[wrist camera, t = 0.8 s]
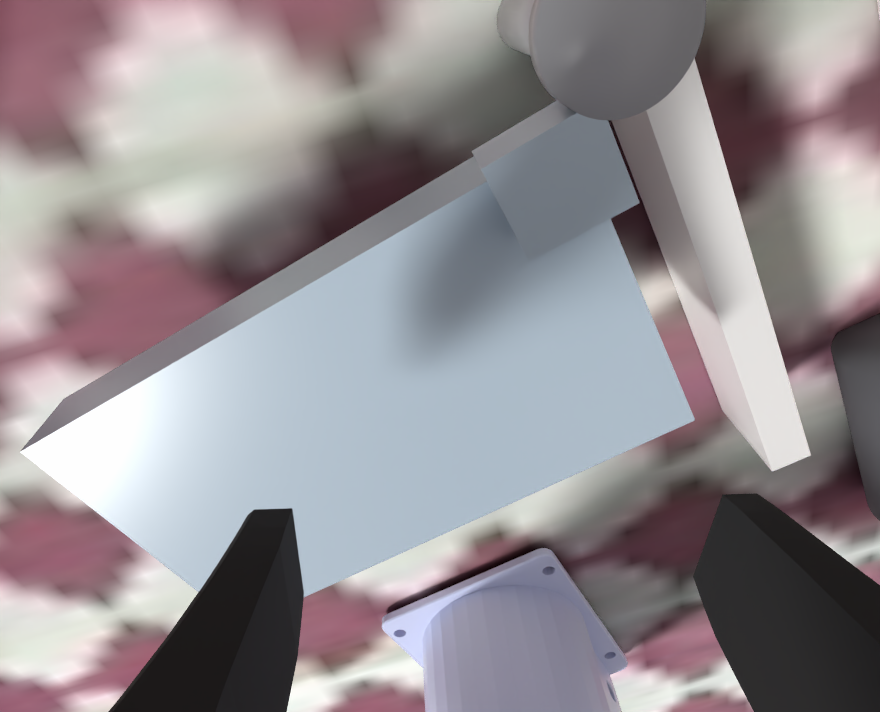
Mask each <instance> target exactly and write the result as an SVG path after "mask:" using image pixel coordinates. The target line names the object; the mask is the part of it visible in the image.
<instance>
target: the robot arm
mask: <svg viewBox="0 0 880 712" xmlns="http://www.w3.org/2000/svg"><path fill="white" fill-rule="evenodd" d="M548 566H549V567H548ZM693 577H694V580H695V583H696V585H697V588H698V591H699V594H700V597H701V600H702V602H703V605H704V608H705V611H706V613H707V616H708V618H709V621H710V623H711V626H712V629H713V631H714V634H715V636H716V638H717V640H718V642H719V644H720V646H721V648H722V650H723V652H724V654H725V656H726V658H727V660H728V662H729V664H730V666H731V668H732V670H733V672H734V674H735V676H736V678H737V680H738V682H739V684H740V686H741V688H742V690H743V691H744V693H745V695H746V697H747V699H748V701H749V703H750V705H751V707H752V709H753V711H754V712H880V585H879V584H877V583H876V582H875V581H873V580H872V579H871V578H869V577H868V576H866V575H865V574H864V573H862V572H861V571H860V570H859V569H857V568H856V567H855V566H853V565H852V564H851V563H849V562H848V561H847V560H845V559H844V558H843V557H841V556H840V555H839V554H837V553H836V552H835V551H834V550H832V549H831V548H830V547H828V546H827V545H826V544H824V543H823V542H822V541H820V540H819V539H818V538H816V537H815V536H814V535H813V534H811V533H810V532H809V531H807V530H806V529H805V528H803V527H802V526H801V525H799V524H798V523H797V522H795V521H794V520H793V519H791V518H790V517H789V516H787V515H786V514H785V513H783V512H782V511H781V510H779V509H778V508H777V507H775V506H774V505H773V504H771V503H770V502H768V501H767V500H766V499H764V498H763V497H761V496H760V495H758V494H731V495H722V498H721V501H720V504H719V506H718V509H717V512H716V515H715V518H714V520H713V523H712V526H711V529H710V531H709V534H708V537H707V540H706V543H705V545H704V548H703V551H702V554H701V557H700V559H699V562H698V565H697V568H696V570H695V573H694V576H693ZM303 597H304V590H303V583H302V575H301V568H300V561H299V553H298V546H297V539H296V532H295V524H294V517H293V510H292V508H287V509H255V510H253V511H252V512H251V513H249V514H248V515H247V517H246V519H245V520H244V522H243V524H242V526H241V527H240V529H239V531H238V532H237V534H236V536H235V537H234V539H233V540H232V542H231V544H230V545H229V547H228V549H227V550H226V552H225V553H224V555H223V556H222V558H221V560H220V561H219V563H218V564H217V566H216V567H215V569H214V570H213V572H212V573H211V575H210V576H209V578H208V579H207V581H206V582H205V584H204V585H203V587H202V588H201V590H200V591H199V593H198V594H197V595H196V597H195V598H194V600H193V601H192V602H191V604H190V605H189V607H188V608H187V610H186V611H185V612H184V614H183V615H182V617H181V618H180V620H179V621H178V622H177V624H176V625H175V627H174V628H173V629H172V631H171V632H170V634H169V635H168V636H167V638H166V639H165V640H164V642H163V643H162V644H161V646H160V647H159V648H158V650H157V651H156V652H155V653H154V655H153V656H152V657H151V659H150V660H149V661H148V662H147V664H146V665H145V666H144V668H143V669H142V670H141V671H140V673H139V674H138V675H137V677H136V678H135V679H134V681H133V682H132V683H131V684H130V686H129V687H128V688H127V690H126V691H125V692H124V693H123V695H122V696H121V697H120V698H119V700H118V701H117V702H116V703H115V705H114V706H113V707H112V708H111V709H110V711H109V712H286V711H287V706H288V701H289V696H290V691H291V686H292V681H293V676H294V672H295V666H296V661H297V656H298V647H299V637H300V628H301V618H302V607H303ZM382 629H383V631H384V632H386V633H387V634H388V635H389V636H390V637H391V638H392V639H393V640H394V641H395V642H396V643H397V644H398V645H399V646H400V647H401V648H402V649H403V650H405V651H406V652H407V653H408V654H409V655H410V656H411V657H412V658H413V659H414V660H415V661H416V662H417V663H418V664H419V665H420V666H421V667H423V672H424V693H425V712H622V711H621V708H620V705H619V702H618V699H617V695H616V692H615V689H614V686H613V683H612V680H611V677H610V674H613V673H616V672H618V671H621V670H623V669H625V668H626V667H627V664H628V662H627V659H626V656H625V654H624V653H623V652H622V650H621V649H620V647H619V646H618V644H617V643H616V642H615V640H614V639H613V637H612V636H611V634H610V633H609V632H608V630H607V629H606V627H605V626H604V624H603V623H602V621H601V620H600V619H599V617H598V616H597V614H596V613H595V611H594V610H593V609H592V607H591V606H590V604H589V603H588V601H587V600H586V599H585V597H584V596H583V594H582V593H581V591H580V590H579V589H578V587H577V586H576V584H575V583H574V581H573V580H572V579H571V577H570V576H569V574H568V573H567V571H566V570H565V569H564V567H563V566H562V564H561V563H560V561H559V560H558V559H557V557H556V556H555V554H554V553H553V552H552V551H551V550H550V549H547V548H540V549H537V550H534V551H532V552H530V553H527V554H525V555H523V556H520V557H518V558H516V559H513V560H511V561H509V562H506V563H504V564H502V565H499V566H497V567H495V568H492V569H490V570H488V571H486V572H483V573H481V574H479V575H476V576H474V577H472V578H469V579H467V580H465V581H462V582H460V583H458V584H455V585H453V586H451V587H448V588H446V589H444V590H441V591H439V592H437V593H435V594H432V595H430V596H428V597H425V598H423V599H421V600H418V601H416V602H414V603H411V604H409V605H407V606H404V607H402V608H400V609H397V610H395V611H393V612H390V613H388V614H387V615H385V616H384V617H383V618H382Z"/></svg>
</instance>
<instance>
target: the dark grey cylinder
mask: <svg viewBox="0 0 880 712" xmlns="http://www.w3.org/2000/svg"><path fill="white" fill-rule="evenodd" d="M831 352H832V356H833V360H834V364H835V369H836V373H837V377H838V381H839V385H840V390H841V394H842V398H843V402H844V406H845V411H846V415H847V419H848V423H849V427H850V432H851V436H852V440H853V444H854V448H855V453H856V457H857V461H858V465H859V469H860V474H861V478H862V482H863V486H864V490H865V495H866V499H867V503H868V506H869V508H870V510H871V512H872V513H873V515H874V516H875V517H876V518H877V519H878V520H880V314H877V315H875V316H873V317H871V318H869V319H867V320H864V321H862V322H860V323H858V324H856V325H854V326H851V327H849V328H847V329H845V330H843V331H840V332H838V333H837V335H836V336H835V337H834V339H833V341H832V345H831Z"/></svg>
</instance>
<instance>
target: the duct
mask: <svg viewBox="0 0 880 712" xmlns="http://www.w3.org/2000/svg"><path fill="white" fill-rule="evenodd" d="M533 3H534V0H502V2H501V4H500V6H499V9H498V13H497V28H498V32H499V35H500V37H501V39H502V40H503V41H504V43H505V44H506V45H507V46H509V47H510V48H512V49H514V50H516V51H519V52H522V53H524V54H527V55H530V51H529V41H528V33H529V21H530V14H531V10H532V6H533ZM877 4H878V12H879V19H880V0H877ZM611 121H612V123H613V126H614V129H615V131H616V134H617V137H618V139H619V142H620V144H621V147H622V150H623V152H624V155H625V157H626V160H627V163H628V165H629V168H630V171H631V173H632V176H633V178H634V181H635V184H636V186H637V189H638V191H639V194H640V197H641V199H642V202H643V205H644V207H645V210H646V212H647V215H648V218H649V220H650V223H651V225H652V228H653V231H654V233H655V236H656V238H657V241H658V244H659V246H660V249H661V252H662V254H663V257H664V259H665V262H666V265H667V267H668V270H669V272H670V275H671V278H672V280H673V283H674V286H675V288H676V291H677V293H678V296H679V299H680V301H681V304H682V306H683V309H684V312H685V314H686V317H687V319H688V322H689V325H690V327H691V330H692V333H693V335H694V338H695V340H696V343H697V346H698V348H699V351H700V353H701V356H702V359H703V361H704V364H705V367H706V369H707V372H708V374H709V377H710V380H711V382H712V385H713V387H714V390H715V393H716V395H717V398H718V401H719V403H720V406H721V408H722V411H723V412H724V413H725V414H726V416H727V417H728V418H729V419H730V420H731V422H732V423H733V424H734V425H735V427H736V428H737V429H738V430H739V432H740V433H741V434H742V435H743V436H744V438H745V439H746V440H747V441H748V443H749V444H750V445H751V446H752V447H753V449H754V450H755V451H756V452H757V454H758V455H759V456H760V457H761V459H762V460H763V461H764V462H765V463H766V465H767V466H768V467H769V468H770V470H771V471H772V472H773V471H775V470H778V469H780V468H782V467H785V466H787V465H790V464H792V463H794V462H797V461H799V460H801V459H804V458H806V457H809V456H811V453H810V450H809V447H808V443H807V440H806V436H805V433H804V430H803V426H802V423H801V419H800V416H799V413H798V409H797V406H796V402H795V399H794V396H793V392H792V389H791V385H790V382H789V379H788V375H787V372H786V368H785V365H784V361H783V358H782V355H781V351H780V348H779V344H778V341H777V338H776V334H775V331H774V327H773V324H772V321H771V317H770V314H769V310H768V307H767V304H766V300H765V297H764V293H763V290H762V287H761V283H760V280H759V276H758V273H757V270H756V266H755V263H754V259H753V256H752V252H751V249H750V246H749V242H748V239H747V235H746V232H745V229H744V225H743V222H742V218H741V215H740V212H739V208H738V205H737V201H736V198H735V195H734V191H733V188H732V184H731V181H730V178H729V174H728V171H727V167H726V164H725V160H724V157H723V154H722V150H721V147H720V143H719V140H718V137H717V133H716V130H715V126H714V123H713V120H712V116H711V113H710V109H709V106H708V103H707V99H706V96H705V92H704V89H703V86H702V82H701V79H700V75H699V72H698V68H697V65H696V62H695V58H694V60H693V62H692V64H691V66H690V67H689V69H688V71H687V72H686V74H685V75H684V77H683V78H682V79H681V81H680V82H679V83H678V85H677V86H676V87H675V88H674V89H673V90H672V91H671V92H670V93H669V94H668V95H667V96H666V97H665V98H663V99H662V100H661V101H660V102H659V103H657V104H656V105H654V106H653V107H651V108H650V109H648V110H646V111H644V112H642V113H640V114H637V115H634V116H632V117H629V118H624V119H619V120H611Z"/></svg>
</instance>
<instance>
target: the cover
mask: <svg viewBox="0 0 880 712" xmlns="http://www.w3.org/2000/svg"><path fill="white" fill-rule="evenodd" d="M705 19H706V0H534V3H533V6H532V10H531V14H530V21H529V33H528V41H529V51H530V56H531V60H532V64H533V67H534V69H535V72H536V74H537V76H538V78H539V80H540V82H541V83H542V85H543V86H544V88H545V89H546V90H547V92H548V93H549V94H550V95H551V96H552V97H553V98H554V99H556V101H555V102H553V103H551V104H550V105H548V106H546V107H545V108H543V109H541V110H540V111H538V112H536V113H535V114H533V115H531V116H530V117H528V118H526V119H524V120H523V121H521V122H519V123H518V124H516V125H514V126H513V127H511V128H509V129H508V130H506V131H504V132H503V133H501V134H499V135H498V136H496V137H494V138H493V139H491V140H489V141H488V142H486V143H484V144H482V145H481V146H479V147H477V148H476V149H474V150H472V153H473V155H474V156H473V157H472V158H470V159H468V160H466V161H465V162H463V163H461V164H460V165H458V166H456V167H455V168H453V169H451V170H450V171H448V172H446V173H445V174H443V175H441V176H439V177H438V178H436V179H434V180H433V181H431V182H429V183H428V184H426V185H424V186H423V187H421V188H419V189H418V190H416V191H414V192H412V193H411V194H409V195H407V196H406V197H404V198H402V199H401V200H399V201H397V202H396V203H394V204H392V205H391V206H389V207H387V208H385V209H384V210H382V211H380V212H379V213H377V214H375V215H374V216H372V217H370V218H369V219H367V220H365V221H364V222H362V223H360V224H358V225H357V226H355V227H353V228H352V229H350V230H348V231H347V232H345V233H343V234H342V235H340V236H338V237H337V238H335V239H333V240H331V241H330V242H328V243H326V244H325V245H323V246H321V247H320V248H318V249H316V250H315V251H313V252H311V253H309V254H308V255H306V256H304V257H303V258H301V259H299V260H298V261H296V262H294V263H293V264H291V265H289V266H288V267H286V268H284V269H282V270H281V271H279V272H277V273H276V274H274V275H272V276H271V277H269V278H267V279H266V280H264V281H262V282H261V283H259V284H257V285H255V286H254V287H252V288H250V289H249V290H247V291H245V292H244V293H242V294H240V295H239V296H237V297H235V298H234V299H232V300H230V301H228V302H227V303H225V304H223V305H222V306H220V307H218V308H217V309H215V310H213V311H212V312H210V313H208V314H207V315H205V316H203V317H201V318H200V319H198V320H196V321H195V322H193V323H191V324H190V325H188V326H186V327H185V328H183V329H181V330H180V331H178V332H176V333H174V334H173V335H171V336H169V337H168V338H166V339H164V340H163V341H161V342H159V343H158V344H156V345H154V346H153V347H151V348H149V349H147V350H146V351H144V352H142V353H141V354H139V355H137V356H136V357H134V358H132V359H131V360H129V361H127V362H126V363H124V364H122V365H120V366H119V367H117V368H115V369H114V370H112V371H110V372H109V373H107V374H105V375H104V376H102V377H100V378H99V379H97V380H95V381H93V382H92V383H90V384H88V385H87V386H85V387H83V388H82V389H80V390H78V391H77V392H75V393H73V394H72V395H70V396H68V397H66V398H65V399H63V401H62V402H61V403H60V404H59V405H58V407H57V408H56V409H55V410H54V411H53V413H52V414H51V415H50V416H49V417H48V419H47V420H46V421H45V422H44V424H43V425H42V426H41V427H40V428H39V430H38V431H37V432H36V433H35V434H34V436H33V437H32V438H31V439H30V440H29V442H28V443H27V444H26V445H25V446H24V448H23V449H22V450H21V451H20V452H21V453H22V454H23V455H25V456H26V457H27V458H28V459H30V460H31V461H32V462H33V463H35V464H36V465H37V466H39V467H40V468H41V469H42V470H44V471H45V472H46V473H48V474H49V475H50V476H51V477H53V478H54V479H55V480H56V481H58V482H59V483H60V484H62V485H63V486H64V487H65V488H67V489H68V490H69V491H70V492H72V493H73V494H74V495H76V496H77V497H78V498H79V499H81V500H82V501H83V502H84V503H86V504H87V505H88V506H90V507H91V508H92V509H93V510H95V511H96V512H97V513H98V514H100V515H101V516H102V517H104V518H105V519H106V520H107V521H109V522H110V523H111V524H112V525H114V526H115V527H116V528H118V529H119V530H120V531H121V532H123V533H124V534H125V535H126V536H128V537H129V538H130V539H132V540H133V541H134V542H135V543H137V544H138V545H139V546H140V547H142V548H143V549H144V550H146V551H147V552H148V553H149V554H151V555H152V556H153V557H154V558H156V559H157V560H158V561H160V562H161V563H162V564H163V565H165V566H166V567H167V568H168V569H170V570H171V571H172V572H174V573H175V574H176V575H177V576H179V577H180V578H181V579H182V580H184V581H185V582H186V583H188V584H189V585H190V586H191V587H193V588H194V589H195V590H196V591H198V592H199V591H200V590H201V588H202V587H203V585H204V584H205V582H206V581H207V579H208V578H209V576H210V575H211V573H212V572H213V570H214V569H215V567H216V566H217V564H218V563H219V561H220V560H221V558H222V556H223V555H224V553H225V552H226V550H227V549H228V547H229V545H230V544H231V542H232V540H233V539H234V537H235V536H236V534H237V532H238V531H239V529H240V527H241V526H242V524H243V522H244V520H245V519H246V517H247V515H248V514H249V513H251V512H252V511H253V510H255V509H287V508H292V510H293V517H294V524H295V532H296V539H297V546H298V553H299V561H300V568H301V575H302V583H303V590H304V597H306V596H308V595H310V594H312V593H314V592H317V591H319V590H321V589H323V588H325V587H328V586H330V585H332V584H334V583H337V582H339V581H341V580H343V579H345V578H348V577H350V576H352V575H354V574H356V573H359V572H361V571H363V570H365V569H367V568H370V567H372V566H374V565H376V564H378V563H381V562H383V561H385V560H387V559H390V558H392V557H394V556H396V555H398V554H401V553H403V552H405V551H407V550H409V549H412V548H414V547H416V546H418V545H420V544H423V543H425V542H427V541H429V540H432V539H434V538H436V537H438V536H440V535H443V534H445V533H447V532H449V531H451V530H454V529H456V528H458V527H460V526H462V525H465V524H467V523H469V522H471V521H473V520H476V519H478V518H480V517H482V516H485V515H487V514H489V513H491V512H493V511H496V510H498V509H500V508H502V507H504V506H507V505H509V504H511V503H513V502H515V501H518V500H520V499H522V498H524V497H526V496H529V495H531V494H533V493H535V492H538V491H540V490H542V489H544V488H546V487H549V486H551V485H553V484H555V483H557V482H560V481H562V480H564V479H566V478H568V477H571V476H573V475H575V474H577V473H579V472H582V471H584V470H586V469H588V468H591V467H593V466H595V465H597V464H599V463H602V462H604V461H606V460H608V459H610V458H613V457H615V456H617V455H619V454H621V453H624V452H626V451H628V450H630V449H633V448H635V447H637V446H639V445H641V444H644V443H646V442H648V441H650V440H652V439H655V438H657V437H659V436H661V435H663V434H666V433H668V432H670V431H672V430H674V429H677V428H679V427H681V426H683V425H686V424H688V423H690V422H692V421H694V420H695V419H694V416H693V414H692V412H691V409H690V407H689V404H688V402H687V400H686V397H685V395H684V393H683V390H682V388H681V385H680V383H679V381H678V378H677V376H676V373H675V371H674V369H673V366H672V364H671V362H670V359H669V357H668V354H667V352H666V350H665V347H664V345H663V342H662V340H661V338H660V335H659V333H658V331H657V328H656V326H655V323H654V321H653V319H652V316H651V314H650V312H649V309H648V307H647V304H646V302H645V300H644V297H643V295H642V292H641V290H640V288H639V285H638V283H637V281H636V278H635V276H634V273H633V271H632V269H631V266H630V264H629V261H628V259H627V257H626V254H625V252H624V250H623V247H622V245H621V242H620V240H619V238H618V235H617V233H616V230H615V228H614V226H613V223H612V221H611V218H613V217H615V216H616V215H618V214H620V213H622V212H624V211H626V210H628V209H629V208H631V207H633V206H635V205H637V204H639V203H640V202H639V200H638V197H637V194H636V192H635V189H634V187H633V184H632V181H631V179H630V176H629V174H628V171H627V168H626V166H625V163H624V161H623V158H622V155H621V153H620V150H619V148H618V145H617V143H616V140H615V137H614V135H613V132H612V130H611V127H610V124H609V122H608V120H619V119H624V118H629V117H632V116H634V115H637V114H640V113H642V112H644V111H646V110H648V109H650V108H651V107H653V106H654V105H656V104H657V103H659V102H660V101H661V100H662V99H663V98H665V97H666V96H667V95H668V94H669V93H670V92H671V91H672V90H673V89H674V88H675V87H676V86H677V85H678V83H679V82H680V81H681V79H682V78H683V77H684V75H685V74H686V72H687V71H688V69H689V67H690V66H691V64H692V62H693V60H694V58H695V56H696V53H697V51H698V48H699V45H700V43H701V39H702V35H703V31H704V25H705Z"/></svg>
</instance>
